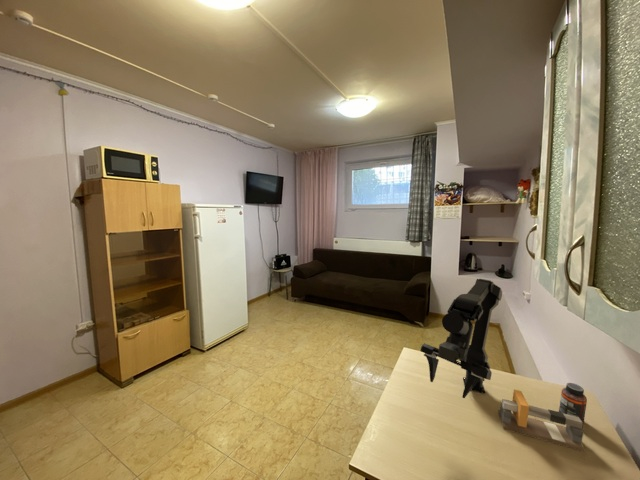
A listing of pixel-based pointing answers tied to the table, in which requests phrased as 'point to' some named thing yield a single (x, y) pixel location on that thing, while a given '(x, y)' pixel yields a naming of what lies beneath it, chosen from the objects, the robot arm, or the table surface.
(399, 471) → the table surface
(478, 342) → the robot arm
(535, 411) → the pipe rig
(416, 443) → the table surface
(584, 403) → the supplement bottle
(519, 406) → the collar
